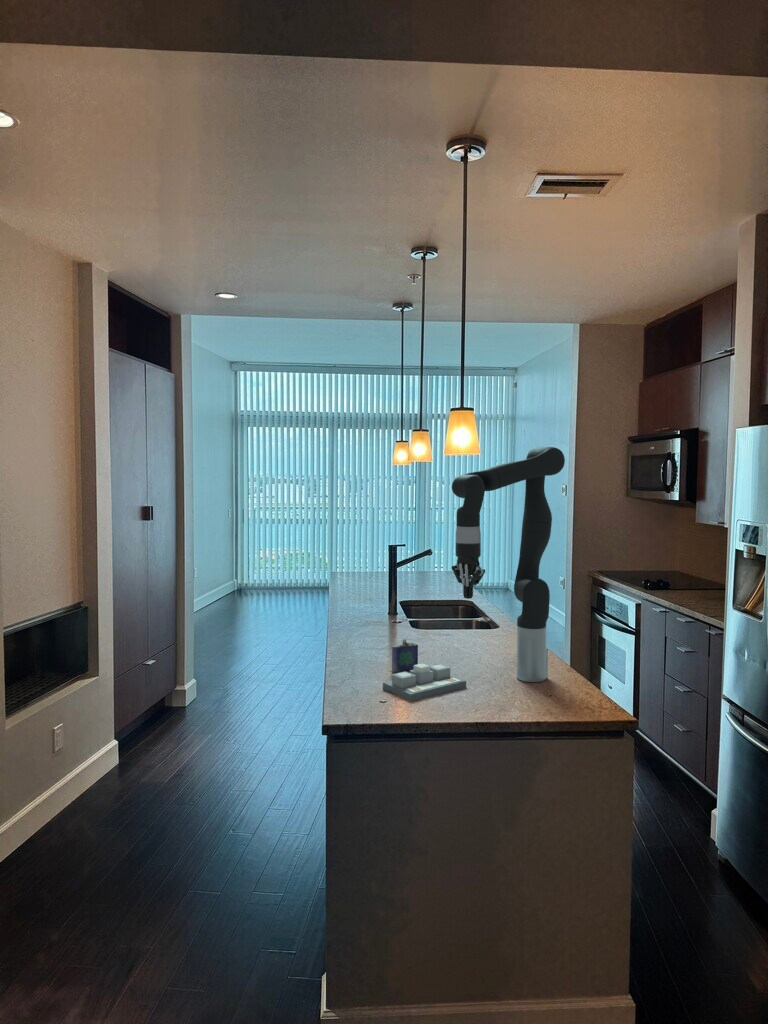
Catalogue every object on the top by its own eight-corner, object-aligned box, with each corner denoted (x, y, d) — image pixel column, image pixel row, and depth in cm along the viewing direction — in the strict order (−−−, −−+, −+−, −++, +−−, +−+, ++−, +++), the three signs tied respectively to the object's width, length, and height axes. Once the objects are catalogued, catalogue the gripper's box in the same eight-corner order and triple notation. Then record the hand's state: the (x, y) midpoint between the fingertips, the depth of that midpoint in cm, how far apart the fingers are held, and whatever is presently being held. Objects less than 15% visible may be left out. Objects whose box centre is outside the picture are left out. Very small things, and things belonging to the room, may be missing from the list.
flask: (393, 673, 224) (393, 641, 224) (390, 671, 227) (390, 639, 227) (419, 671, 227) (419, 639, 227) (415, 668, 230) (415, 637, 230)
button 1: (404, 681, 209) (404, 672, 208) (412, 684, 206) (412, 675, 206) (395, 683, 206) (395, 674, 206) (402, 686, 204) (402, 677, 203)
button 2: (439, 673, 217) (439, 664, 217) (446, 676, 214) (446, 667, 214) (430, 675, 215) (430, 666, 214) (438, 678, 212) (438, 669, 212)
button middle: (422, 672, 213) (422, 663, 212) (429, 675, 210) (429, 665, 209) (413, 674, 210) (413, 665, 210) (420, 677, 208) (420, 667, 207)
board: (437, 676, 221) (437, 661, 221) (466, 687, 210) (466, 671, 210) (382, 688, 208) (382, 672, 208) (410, 701, 197) (410, 684, 197)
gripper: (492, 542, 199) (492, 600, 200) (462, 538, 210) (462, 593, 211) (474, 543, 195) (474, 603, 196) (444, 540, 205) (444, 596, 206)
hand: (468, 598), depth 203 cm, fingers closed
